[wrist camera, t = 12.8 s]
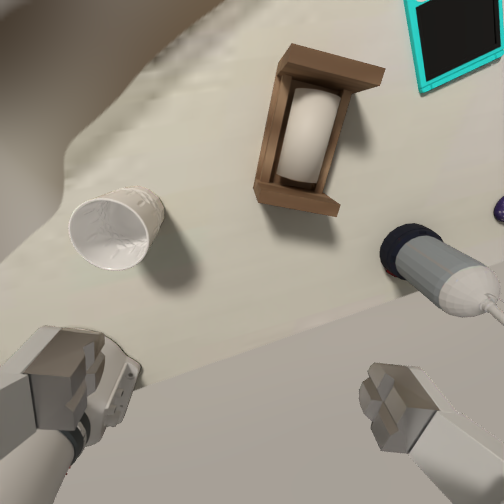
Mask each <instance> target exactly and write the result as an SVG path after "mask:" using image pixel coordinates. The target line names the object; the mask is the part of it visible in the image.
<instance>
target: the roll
mask: <svg viewBox="0 0 504 504" xmlns="http://www.w3.org/2000/svg"><path fill="white" fill-rule="evenodd" d="M340 100H341V98H340V97H339V96H337V95H335V94H332V93H329V92H325V91H322V90H317V89H309V88H297V89H295V93H294V97H293V102H292V106H291V110H290V115H289V119H288V124H287V128H286V132H285V137H284V141H283V146H282V150H281V155H280V159H279V163H278V168H277V172H276V174H278V175H280V176H282V177H286V178H288V179H290V180H294V181H298V182H308V183H317V181H318V177H319V174H320V170H321V167H322V163H323V160H324V156H325V152H326V149H327V145H328V142H329V138H330V135H331V131H332V128H333V124H334V121H335V117H336V114H337V110H338V107H339V103H340Z"/></svg>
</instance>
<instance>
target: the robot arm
mask: <svg viewBox="0 0 504 504" xmlns="http://www.w3.org/2000/svg"><path fill="white" fill-rule="evenodd" d="M140 369H141V366H140V364H139V363H138V362H136V361H135V360H133V359H131V358H130V357H128V356H126V355H125V354H124V352H123V351H122V350H121V349H120V347H119V346H118V345H117V344H116V343H114V342H113V341H112V340H110V339H109V338H107V337H106V336H105V335H104V334H103V333H102V332H95V331H90V330H86V329H79V328H66V327H65V328H62V327H55V326H48V325H44V326H42V327H40V328H38V329H37V330H36V331H35V332H34V333H33V334H32V335H31V337H30V338H29V339H28V340H27V341H26V342H25V343H24V344H23V345H22V346H21V347H20V348H19V349H18V350H17V351H16V352H15V353H14V354H13V355H12V356H11V357H10V358H9V359H8V360H7V361H6V362H5V363H4V364H3V365H2V366H1V367H0V504H53V502H54V499H55V497H56V495H57V493H58V490H59V488H60V486H61V484H62V482H63V479H64V477H65V475H67V471H68V469H69V468H70V467H71V465H72V464H73V463H74V462H75V461H76V459H77V458H78V457H79V456H80V455H81V453H82V451H83V450H84V448H85V447H87V446H91V445H93V444H96V443H97V442H99V441H100V440H101V438H102V436H103V434H104V431H105V429H106V427H108V426H112V427H115V426H116V425H117V424H119V423H121V422H122V420H123V418H124V416H125V413H126V410H127V407H128V404H129V401H130V398H131V395H132V392H133V390H134V387H135V384H136V381H137V378H138V375H139V372H140ZM368 374H369V378H367V379H366V380H365V381H363V382H362V384H361V387H360V389H359V401H360V405H361V408H362V410H363V412H364V414H365V415H366V416H367V417H368V418H369V419H370V420H371V421H372V424H371V430H372V432H373V434H374V436H375V439H376V441H377V443H378V445H379V447H380V449H381V451H387V452H397V453H407V454H408V456H409V457H410V458H411V459H412V460H413V461H414V462H415V463H416V464H417V465H418V467H419V468H420V469H421V470H422V471H423V472H424V473H425V474H426V475H427V476H428V477H429V478H430V479H431V481H432V482H433V483H434V484H435V485H436V486H437V487H438V488H439V489H440V490H441V491H442V493H444V494H445V496H446V497H447V498H448V499H449V500H450V501H451V502H452V503H453V504H504V442H502V441H501V440H500V439H498V438H497V437H495V436H494V435H493V434H491V433H490V432H488V431H487V430H485V429H484V428H483V427H481V426H480V425H478V424H477V423H476V422H474V421H473V420H471V419H470V418H469V417H467V416H466V415H464V414H463V413H458V412H457V411H456V410H455V409H454V407H453V406H452V405H451V404H450V402H449V401H448V400H447V398H446V397H445V396H444V395H443V393H442V392H441V391H440V390H439V388H438V387H437V386H436V385H435V383H434V382H433V381H432V380H431V378H430V377H429V376H428V375H427V373H426V372H425V371H424V370H423V369H421V368H420V367H415V366H405V365H404V366H402V365H393V364H383V363H373V364H372V365H371V366H370V368H369V370H368Z"/></svg>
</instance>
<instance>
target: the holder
mask: <svg viewBox="0 0 504 504" xmlns="http://www.w3.org/2000/svg"><path fill="white" fill-rule="evenodd" d="M385 69H386V68H382V67H378V66H375V65H371V64H367V63H363V62H360V61H356V60H352V59H348V58H345V57H341V56H337V55H334V54H330V53H326V52H322V51H319V50H315V49H311V48H307V47H304V46H300V45H296V44H293V43H292V44H291V45H290V47H289V48H288V50H287V51H286V53H285V54H284V55H283V57H282V58H281V60H280V61H279V63H278V67H277V72H276V77H275V82H274V87H273V92H272V97H271V102H270V107H269V112H268V117H267V122H266V127H265V132H264V137H263V142H262V147H261V152H260V157H259V162H258V167H257V172H256V177H255V182H254V187H253V189H254V192H255V195H256V198H257V201H258V203H263V204H269V205H274V206H279V207H285V208H290V209H296V210H301V211H307V212H312V213H317V214H323V215H328V216H334V217H337V214H338V211H339V208H340V204H339V203H337V202H336V201H334V200H333V199H331V198H330V197H329V196H327V195H326V194H324V193H323V189H324V185H325V182H326V179H327V175H328V172H329V169H330V165H331V162H332V158H333V155H334V152H335V148H336V145H337V142H338V138H339V135H340V132H341V128H342V125H343V122H344V118H345V115H346V112H347V108H348V105H349V102H350V98H351V95H352V94H353V93H357V92H360V91H363V90H367V89H370V88H374V87H377V86H380V84H381V81H382V78H383V75H384V72H385ZM297 88H309V89H317V90H322V91H325V92H329V93H332V94H335V95H337V96H339V97H340V98H341V100H340V103H339V107H338V110H337V114H336V117H335V121H334V124H333V128H332V131H331V135H330V138H329V142H328V145H327V149H326V152H325V156H324V160H323V163H322V167H321V170H320V174H319V177H318V181H317V183H308V182H298V181H294V180H290V179H288V178H286V177H282V176H280V175H278V174H276V172H277V168H278V163H279V159H280V155H281V150H282V146H283V141H284V137H285V132H286V128H287V124H288V119H289V115H290V110H291V106H292V102H293V97H294V93H295V89H297Z"/></svg>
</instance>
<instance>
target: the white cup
mask: <svg viewBox="0 0 504 504" xmlns="http://www.w3.org/2000/svg"><path fill="white" fill-rule="evenodd" d="M163 220H164V207H163V205H162V203H161V201H160V198H159V197H158V196H157V195H156V194H154V193H153V192H152V191H151V190H150V189H147V188H144V187H141V186H130V187H125V188H122V189H118V190H115V191H112V192H109V193H106V194H104V195H101V196H99V197H96V198H93V199H91V200H88V201H86V202H84V203H82V204H80V205H79V206H78V207H77V208H76V209H75V210H74V212H73V213H72V215H71V217H70V220H69V225H68V231H69V237H70V240H71V242H72V245H73V246H74V248H75V250H76V251H77V252H78V253H79V255H80V256H81V257H82V258H84V259H85V260H86V261H87V262H89V263H91V264H92V265H94V266H96V267H99V268H102V269H105V270H111V271H120V270H126V269H129V268H132V267H134V266H135V265H137V264H138V263H139V262H141V261H142V259H143V258H144V257H145V255H146V253H147V252H148V250H149V248H150V246H151V245H152V243H153V241H154V239H155V237H156V236H157V234H158V231H159V229H160V226H161V224H162V222H163Z"/></svg>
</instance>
